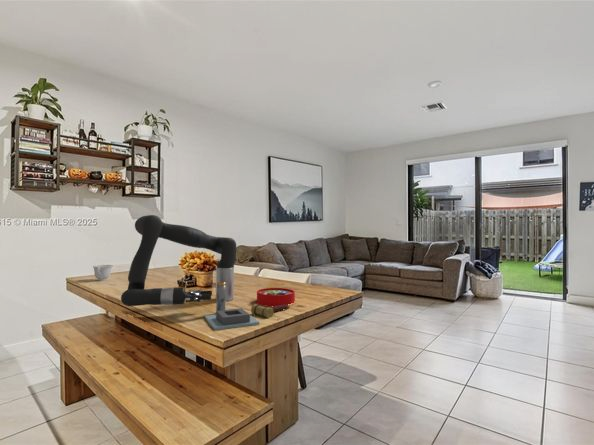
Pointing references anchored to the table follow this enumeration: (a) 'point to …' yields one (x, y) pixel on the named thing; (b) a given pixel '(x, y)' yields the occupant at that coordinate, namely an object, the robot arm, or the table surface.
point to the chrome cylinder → (221, 296)
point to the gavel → (267, 310)
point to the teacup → (102, 271)
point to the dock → (219, 326)
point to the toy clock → (275, 296)
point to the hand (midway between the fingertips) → (211, 294)
